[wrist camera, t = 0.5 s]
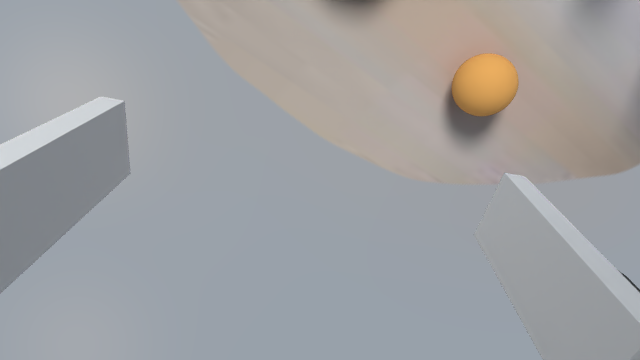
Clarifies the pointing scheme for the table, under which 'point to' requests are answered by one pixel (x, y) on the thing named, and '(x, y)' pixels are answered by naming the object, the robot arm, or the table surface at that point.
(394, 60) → the table surface
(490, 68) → the ball
